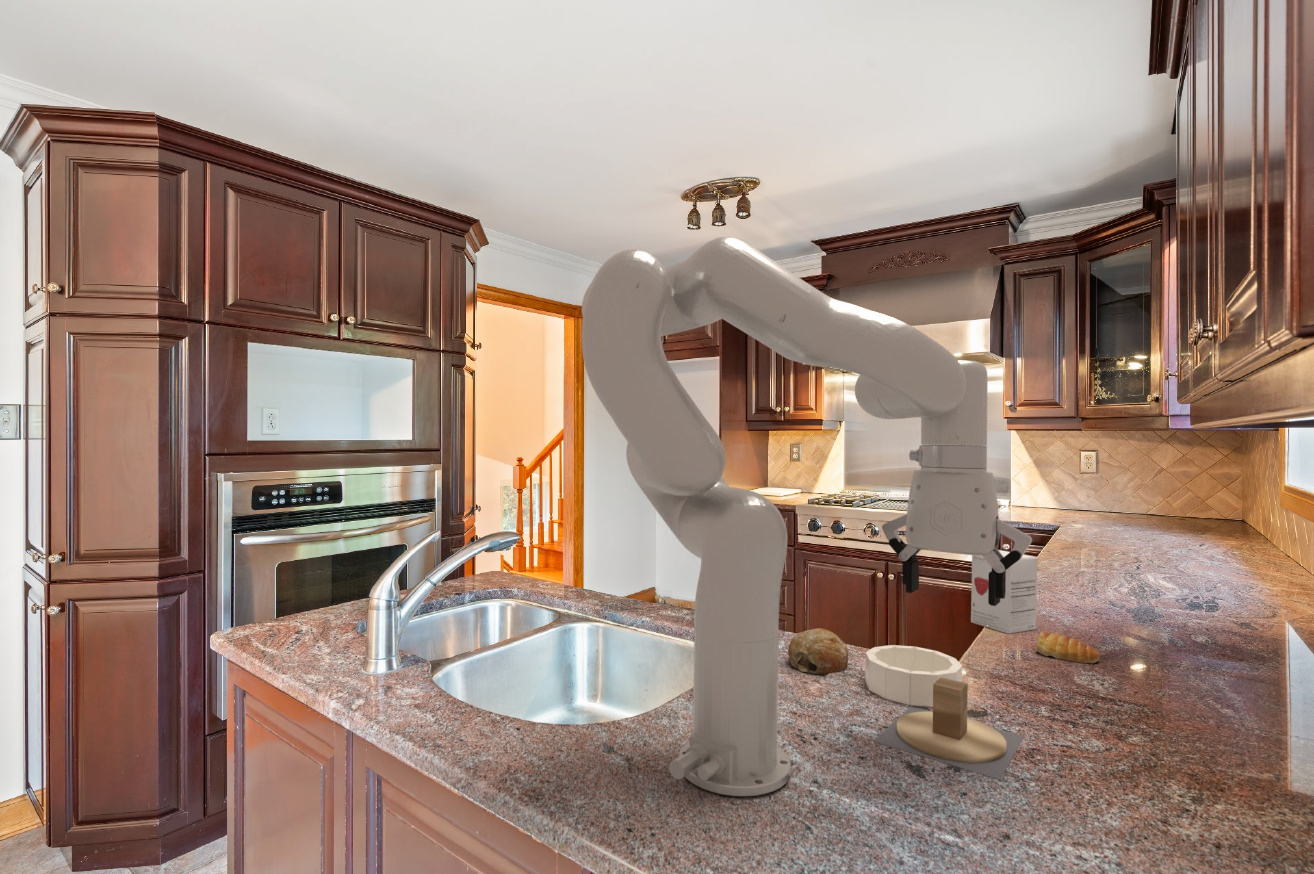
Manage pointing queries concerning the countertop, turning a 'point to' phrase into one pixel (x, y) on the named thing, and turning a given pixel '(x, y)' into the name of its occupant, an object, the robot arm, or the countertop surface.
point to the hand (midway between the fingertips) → (951, 597)
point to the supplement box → (1006, 596)
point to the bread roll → (818, 652)
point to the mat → (986, 769)
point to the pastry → (1066, 648)
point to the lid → (951, 728)
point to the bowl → (908, 673)
